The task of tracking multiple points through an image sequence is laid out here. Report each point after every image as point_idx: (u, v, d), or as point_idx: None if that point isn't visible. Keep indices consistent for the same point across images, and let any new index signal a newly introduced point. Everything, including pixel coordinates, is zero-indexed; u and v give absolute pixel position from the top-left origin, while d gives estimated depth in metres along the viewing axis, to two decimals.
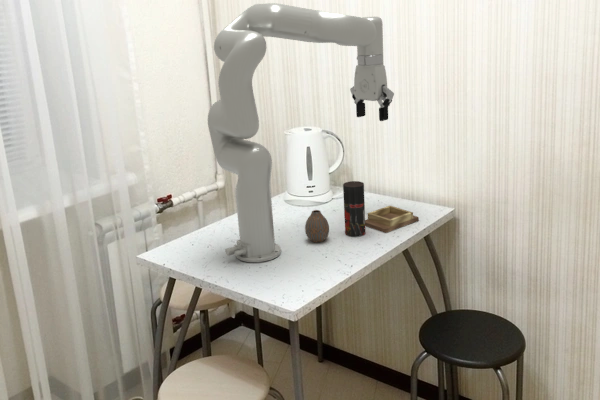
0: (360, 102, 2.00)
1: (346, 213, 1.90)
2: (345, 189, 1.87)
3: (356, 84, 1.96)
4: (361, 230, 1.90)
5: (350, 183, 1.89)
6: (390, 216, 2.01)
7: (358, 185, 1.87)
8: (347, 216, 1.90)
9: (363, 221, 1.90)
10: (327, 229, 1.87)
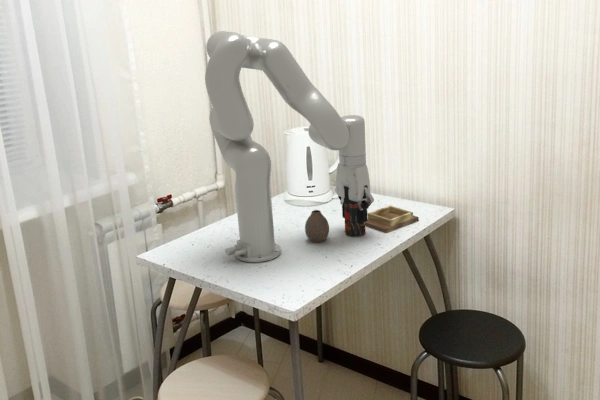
0: None
1: (346, 213, 1.90)
2: (345, 189, 1.87)
3: (338, 182, 1.90)
4: (361, 230, 1.90)
5: None
6: (390, 216, 2.01)
7: None
8: (347, 216, 1.90)
9: None
10: (327, 229, 1.87)
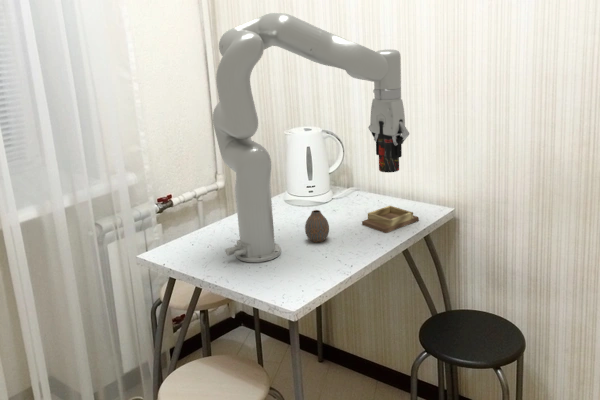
0: None
1: (381, 148, 1.91)
2: (380, 124, 1.88)
3: (373, 118, 1.91)
4: (395, 165, 1.91)
5: None
6: (390, 216, 2.01)
7: None
8: (382, 151, 1.91)
9: None
10: (327, 229, 1.87)
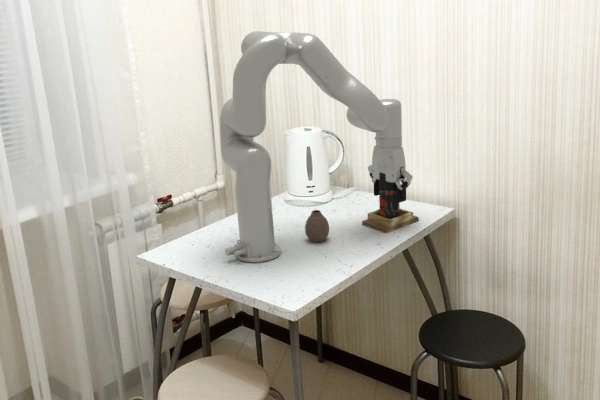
0: (378, 181, 1.99)
1: (381, 199, 1.95)
2: (381, 176, 1.93)
3: (374, 164, 1.95)
4: (396, 216, 1.96)
5: None
6: None
7: None
8: (382, 202, 1.95)
9: (398, 207, 1.96)
10: (327, 229, 1.87)
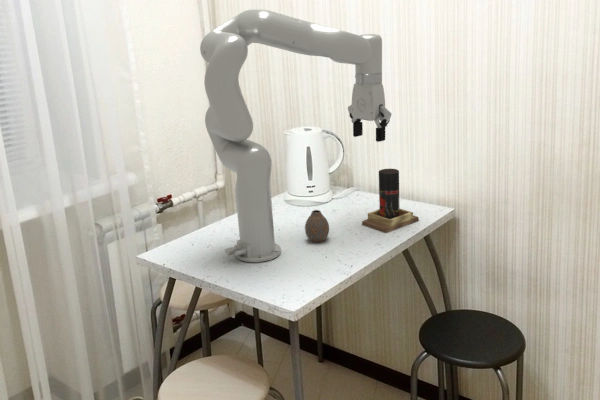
0: (357, 121, 1.94)
1: (381, 199, 1.95)
2: (381, 176, 1.93)
3: (353, 103, 1.90)
4: (396, 216, 1.96)
5: (386, 170, 1.95)
6: None
7: (393, 172, 1.93)
8: (382, 202, 1.95)
9: (398, 207, 1.96)
10: (327, 229, 1.87)
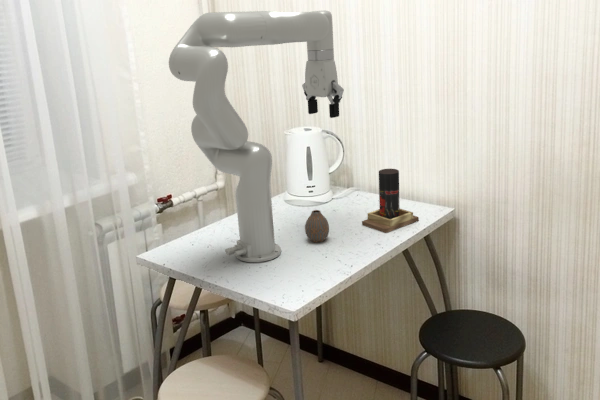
0: (312, 98, 1.95)
1: (381, 199, 1.95)
2: (381, 176, 1.93)
3: (307, 80, 1.91)
4: (396, 216, 1.96)
5: (386, 170, 1.95)
6: None
7: (393, 172, 1.93)
8: (382, 202, 1.95)
9: (398, 207, 1.96)
10: (327, 229, 1.87)
